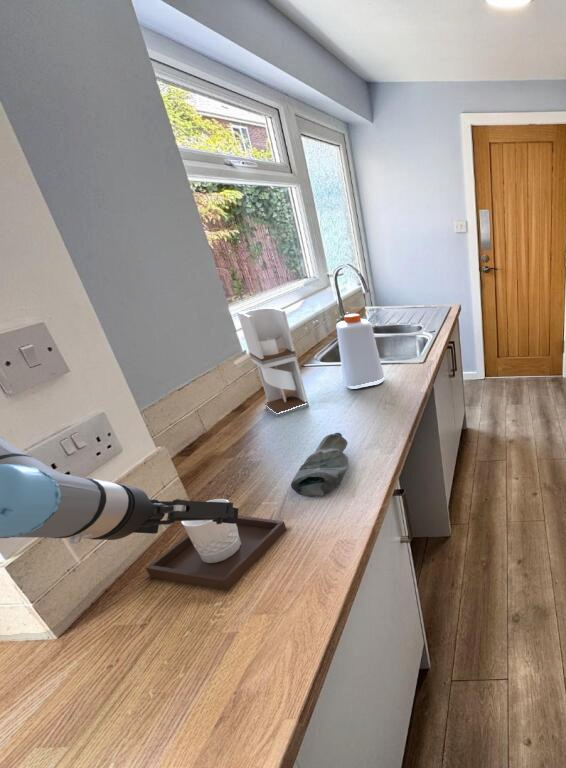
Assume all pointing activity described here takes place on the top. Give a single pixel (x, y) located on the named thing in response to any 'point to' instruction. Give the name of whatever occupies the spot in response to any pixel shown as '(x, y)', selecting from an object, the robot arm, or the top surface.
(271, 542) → the serving tray
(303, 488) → the grey hollow crumpled part
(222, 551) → the white cup
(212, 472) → the top surface
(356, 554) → the top surface
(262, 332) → the white tiered shelf stand
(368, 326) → the plastic bottle
